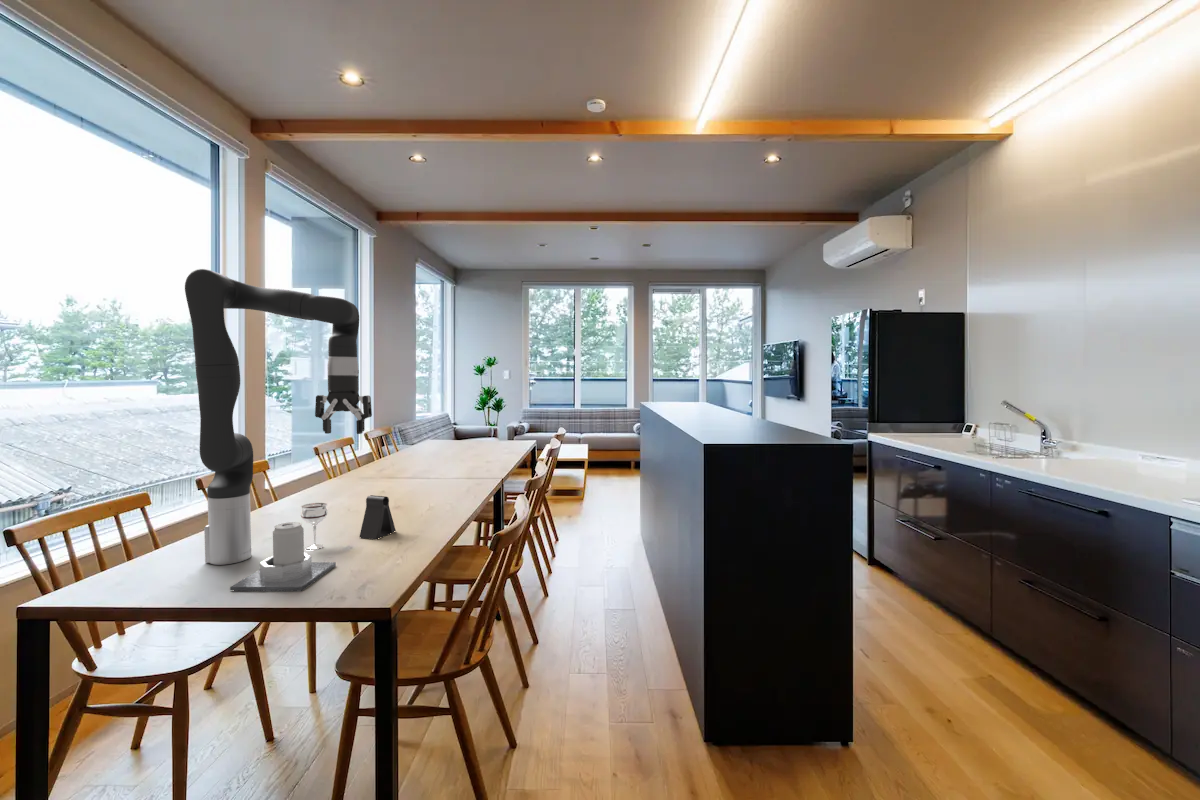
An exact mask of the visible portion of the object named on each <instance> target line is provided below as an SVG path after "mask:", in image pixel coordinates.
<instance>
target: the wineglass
mask: <svg viewBox="0 0 1200 800" xmlns="http://www.w3.org/2000/svg"><path fill="white" fill-rule="evenodd" d="M327 506H328V503H326V502H311V503H306V504H303V505H301V506H300V508H301V512H300V517H301V519H302V520H303V521H304V522H306V524H310V525H311V526H312V531H313V544H312V545H309V546H307V549H310V550H309V551H312V550H311V549H317V550H320V549H319V548H321V549H323V548H322V547H324V546H325V545H324V544H320V543H319V544H317V541H316V540H317V526H318V524H319V523H321V522H323V521H324V520H325V519H326V518H327V516H328V514H329V513H328V510H329V509H328V508H327ZM323 545H324V546H323ZM324 548H325V547H324Z"/></svg>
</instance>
